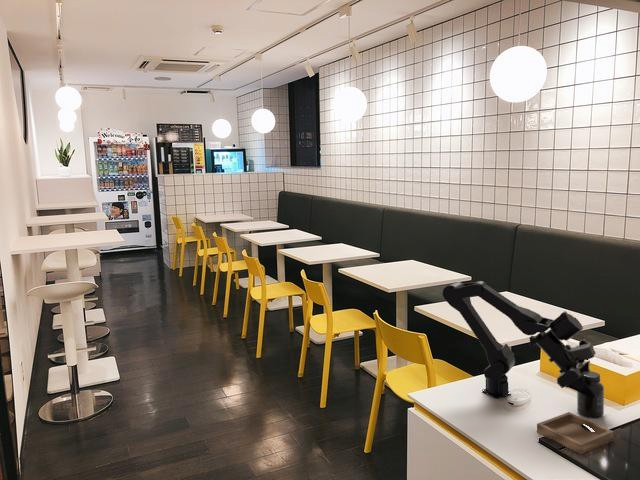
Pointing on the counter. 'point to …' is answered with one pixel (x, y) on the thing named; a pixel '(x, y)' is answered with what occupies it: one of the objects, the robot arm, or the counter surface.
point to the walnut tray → (574, 432)
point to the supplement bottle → (591, 405)
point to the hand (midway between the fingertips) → (596, 392)
